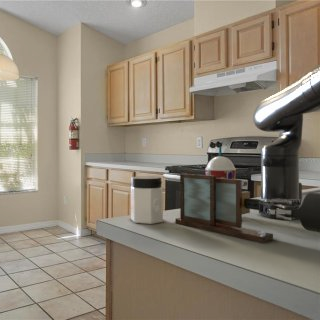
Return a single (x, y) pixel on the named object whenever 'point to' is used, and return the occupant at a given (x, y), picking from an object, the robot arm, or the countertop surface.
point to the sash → (230, 202)
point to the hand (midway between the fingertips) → (246, 203)
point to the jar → (146, 199)
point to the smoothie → (221, 167)
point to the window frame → (208, 208)
